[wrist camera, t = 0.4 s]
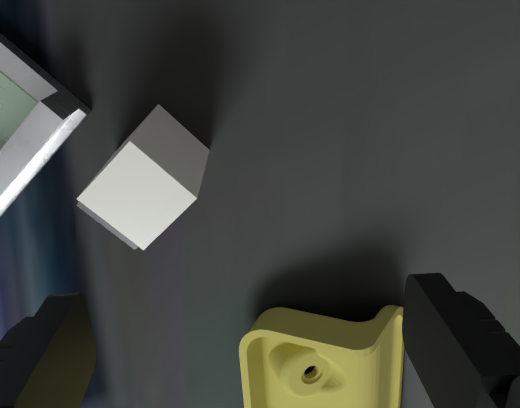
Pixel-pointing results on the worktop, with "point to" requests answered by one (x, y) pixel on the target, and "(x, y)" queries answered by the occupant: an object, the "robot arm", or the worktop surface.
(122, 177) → the block
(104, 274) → the worktop surface
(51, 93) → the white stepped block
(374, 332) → the plastic component
